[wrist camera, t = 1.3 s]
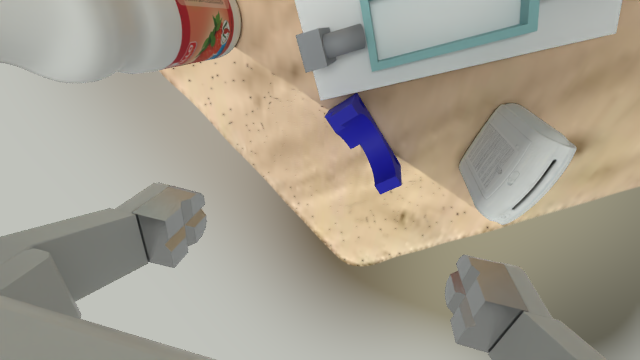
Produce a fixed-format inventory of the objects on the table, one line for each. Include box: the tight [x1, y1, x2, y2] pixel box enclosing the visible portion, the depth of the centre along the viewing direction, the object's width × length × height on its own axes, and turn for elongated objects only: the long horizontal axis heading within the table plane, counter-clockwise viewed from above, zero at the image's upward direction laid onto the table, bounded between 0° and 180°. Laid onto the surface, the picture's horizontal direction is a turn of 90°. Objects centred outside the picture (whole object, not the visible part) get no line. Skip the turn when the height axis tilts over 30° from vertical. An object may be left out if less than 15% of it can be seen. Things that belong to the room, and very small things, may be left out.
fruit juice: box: [0, 0, 241, 83], centre depth 23 cm, size 9×9×28 cm
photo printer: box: [459, 103, 576, 225], centre depth 30 cm, size 10×4×12 cm, turn 163°
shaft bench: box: [295, 0, 622, 100], centre depth 26 cm, size 30×12×7 cm, turn 105°
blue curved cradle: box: [325, 93, 402, 194], centre depth 36 cm, size 12×4×6 cm, turn 35°
